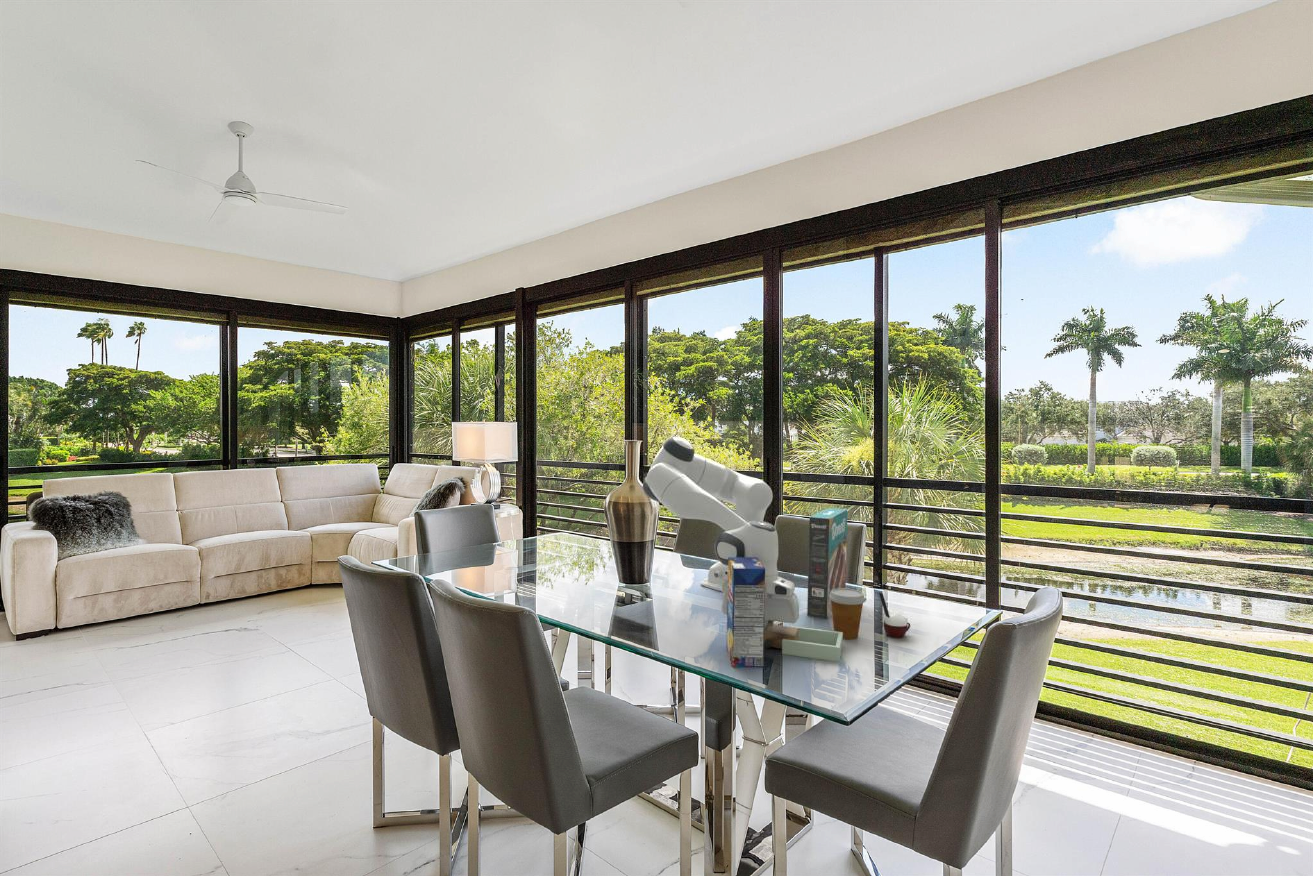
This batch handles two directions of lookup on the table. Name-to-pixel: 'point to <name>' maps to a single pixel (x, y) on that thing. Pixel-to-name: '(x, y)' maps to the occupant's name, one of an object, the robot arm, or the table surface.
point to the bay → (815, 644)
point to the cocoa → (894, 621)
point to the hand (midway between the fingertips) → (759, 634)
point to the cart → (778, 634)
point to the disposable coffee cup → (846, 611)
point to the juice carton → (745, 612)
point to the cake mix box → (826, 559)
